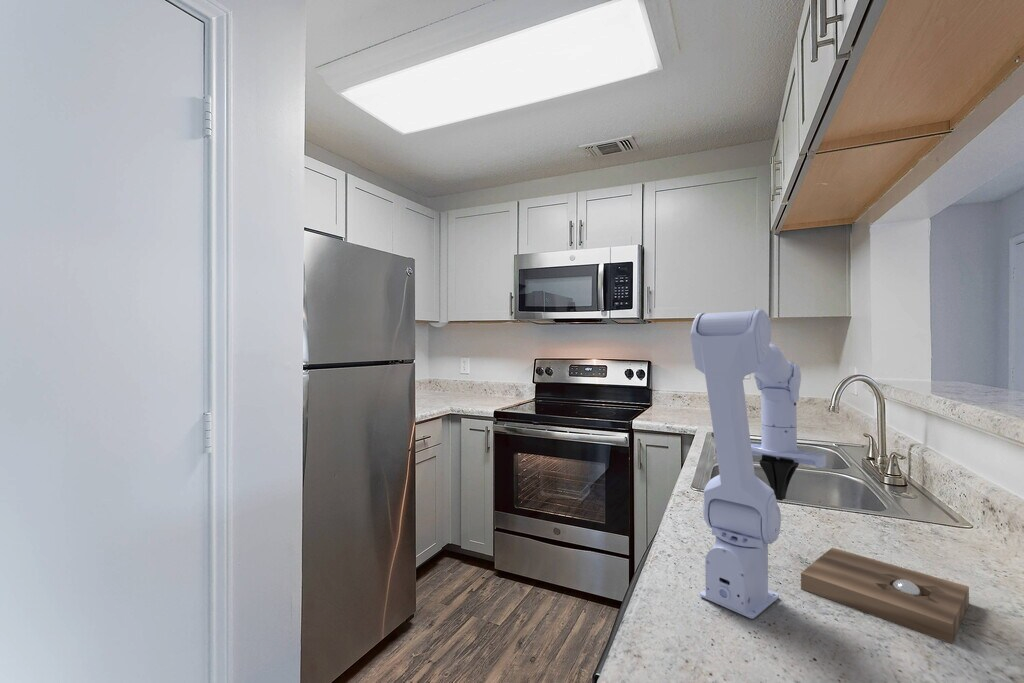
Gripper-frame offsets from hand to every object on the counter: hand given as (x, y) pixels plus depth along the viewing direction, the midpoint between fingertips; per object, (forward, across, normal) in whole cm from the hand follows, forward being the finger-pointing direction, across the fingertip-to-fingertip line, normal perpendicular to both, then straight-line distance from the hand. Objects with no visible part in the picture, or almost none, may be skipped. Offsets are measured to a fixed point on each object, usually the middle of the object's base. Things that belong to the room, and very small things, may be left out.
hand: (779, 498), depth 85 cm
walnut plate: (+10, -16, +3) cm, 19 cm away
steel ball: (+9, -19, +3) cm, 21 cm away
